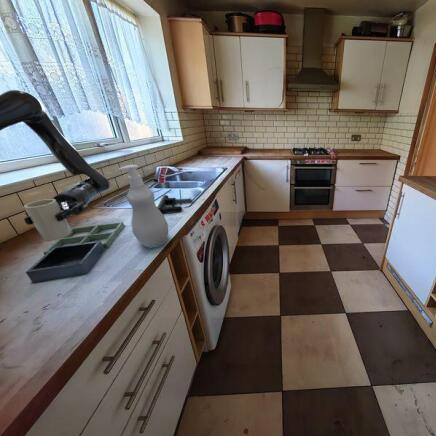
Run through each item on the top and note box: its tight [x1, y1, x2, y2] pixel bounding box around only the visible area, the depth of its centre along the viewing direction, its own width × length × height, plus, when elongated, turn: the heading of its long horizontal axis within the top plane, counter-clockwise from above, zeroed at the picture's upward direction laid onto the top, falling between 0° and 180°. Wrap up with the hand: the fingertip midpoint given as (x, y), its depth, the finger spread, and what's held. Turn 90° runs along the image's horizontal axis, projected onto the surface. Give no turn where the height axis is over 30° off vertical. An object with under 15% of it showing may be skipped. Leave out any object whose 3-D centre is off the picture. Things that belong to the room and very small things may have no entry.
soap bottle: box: [118, 164, 169, 249], centre depth 81 cm, size 17×12×29 cm
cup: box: [23, 198, 72, 242], centre depth 69 cm, size 7×7×11 cm
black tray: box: [25, 240, 106, 283], centre depth 74 cm, size 14×14×4 cm
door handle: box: [156, 194, 193, 214], centre depth 118 cm, size 3×20×16 cm
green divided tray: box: [42, 221, 125, 256], centre depth 88 cm, size 18×18×2 cm
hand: (43, 220), depth 66 cm, fingers closed on cup, 6 cm apart
